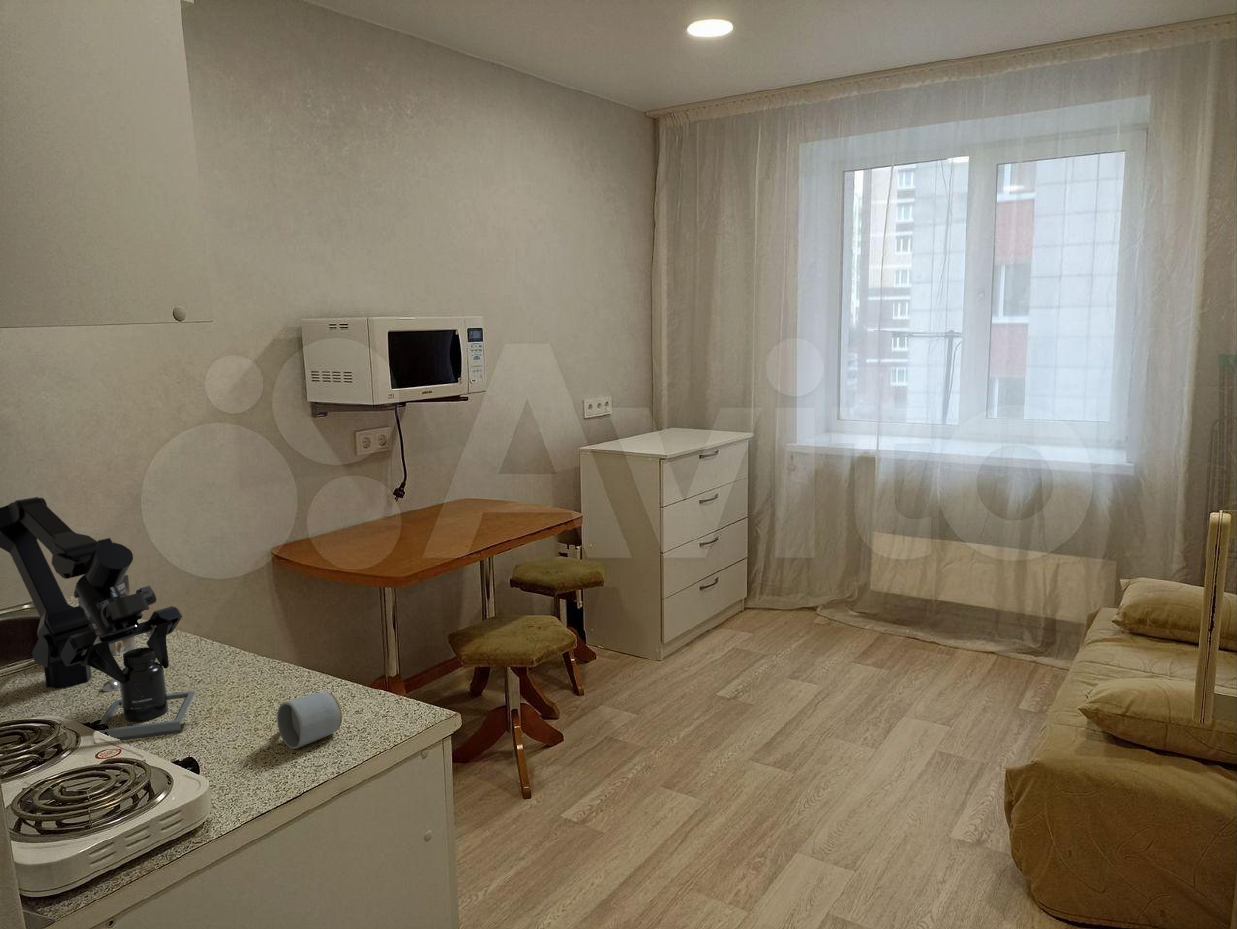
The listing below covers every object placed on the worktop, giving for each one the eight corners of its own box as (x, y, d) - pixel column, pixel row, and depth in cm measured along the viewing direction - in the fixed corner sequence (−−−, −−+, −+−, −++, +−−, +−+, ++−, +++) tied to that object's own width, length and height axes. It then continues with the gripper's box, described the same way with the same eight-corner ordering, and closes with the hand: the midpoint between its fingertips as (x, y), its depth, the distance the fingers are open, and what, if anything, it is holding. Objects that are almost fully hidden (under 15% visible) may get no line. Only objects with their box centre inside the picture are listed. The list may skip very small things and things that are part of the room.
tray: (94, 744, 145) (93, 732, 145) (116, 710, 158) (115, 700, 157) (180, 732, 149) (179, 721, 148) (195, 701, 161) (194, 690, 161)
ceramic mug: (347, 735, 146) (343, 692, 145) (302, 755, 140) (298, 709, 139) (311, 719, 153) (307, 677, 152) (267, 737, 147) (263, 693, 146)
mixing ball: (101, 700, 162) (99, 684, 162) (105, 693, 165) (104, 678, 165) (119, 698, 163) (117, 682, 163) (123, 691, 166) (121, 676, 165)
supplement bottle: (139, 730, 149) (129, 663, 146) (116, 721, 152) (106, 655, 150) (177, 713, 154) (168, 648, 152) (155, 704, 158) (145, 641, 156)
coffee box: (117, 662, 180) (108, 587, 178) (84, 664, 180) (75, 588, 177) (137, 646, 189) (128, 574, 187) (105, 648, 189) (96, 575, 186)
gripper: (60, 590, 143) (104, 668, 139) (171, 562, 159) (213, 632, 155) (42, 627, 149) (84, 704, 145) (151, 597, 164) (191, 665, 160)
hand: (146, 674), depth 151 cm, fingers open, 7 cm apart
